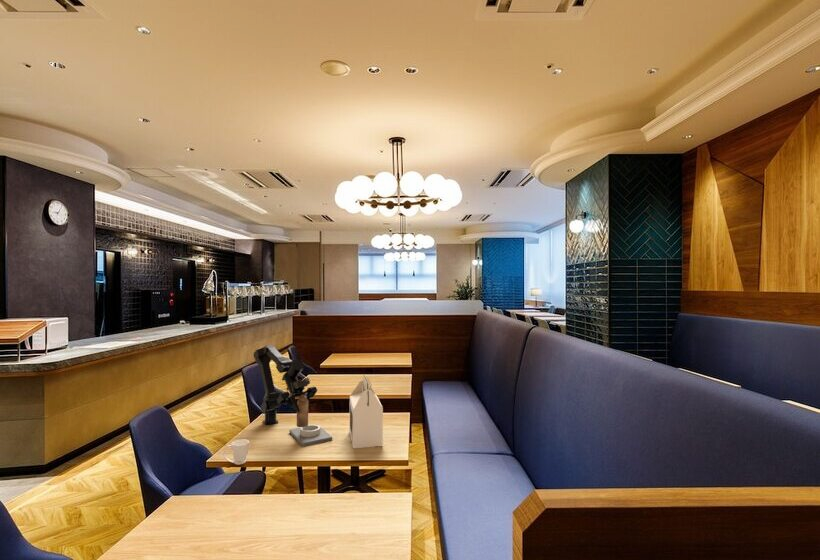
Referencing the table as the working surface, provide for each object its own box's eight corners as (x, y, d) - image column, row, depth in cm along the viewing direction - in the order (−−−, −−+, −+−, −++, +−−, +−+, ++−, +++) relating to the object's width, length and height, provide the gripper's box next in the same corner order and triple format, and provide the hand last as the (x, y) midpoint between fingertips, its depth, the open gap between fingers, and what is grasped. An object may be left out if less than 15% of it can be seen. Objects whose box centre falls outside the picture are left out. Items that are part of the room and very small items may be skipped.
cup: (246, 465, 166) (246, 445, 166) (220, 466, 165) (220, 446, 165) (251, 458, 173) (251, 438, 173) (226, 459, 172) (226, 439, 172)
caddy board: (289, 432, 203) (289, 424, 203) (317, 427, 210) (317, 419, 210) (302, 446, 186) (302, 437, 186) (332, 440, 193) (332, 431, 193)
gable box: (382, 446, 186) (383, 383, 186) (353, 448, 183) (353, 385, 184) (376, 429, 208) (376, 373, 208) (349, 431, 205) (349, 374, 205)
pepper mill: (294, 425, 194) (294, 395, 194) (302, 422, 199) (302, 392, 199) (302, 427, 191) (302, 396, 191) (310, 424, 196) (310, 394, 196)
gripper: (280, 375, 191) (292, 405, 183) (315, 369, 204) (328, 397, 197) (272, 389, 197) (283, 418, 189) (306, 383, 210) (318, 410, 202)
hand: (304, 410), depth 194 cm, fingers closed on pepper mill, 5 cm apart
